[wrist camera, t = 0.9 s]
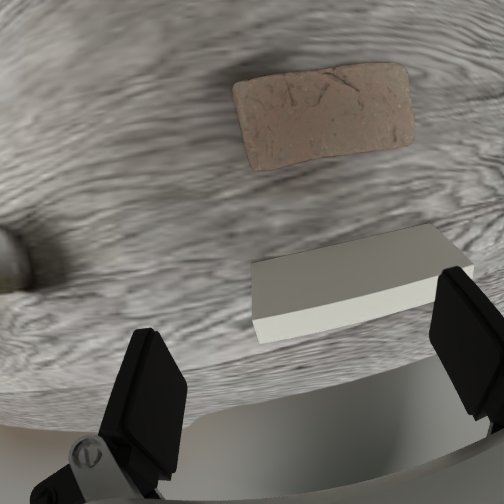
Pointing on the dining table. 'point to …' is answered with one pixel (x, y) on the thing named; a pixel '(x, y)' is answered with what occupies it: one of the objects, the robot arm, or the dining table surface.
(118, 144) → the dining table surface
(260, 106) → the brick
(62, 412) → the dining table surface
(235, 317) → the dining table surface
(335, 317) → the grey bookend
